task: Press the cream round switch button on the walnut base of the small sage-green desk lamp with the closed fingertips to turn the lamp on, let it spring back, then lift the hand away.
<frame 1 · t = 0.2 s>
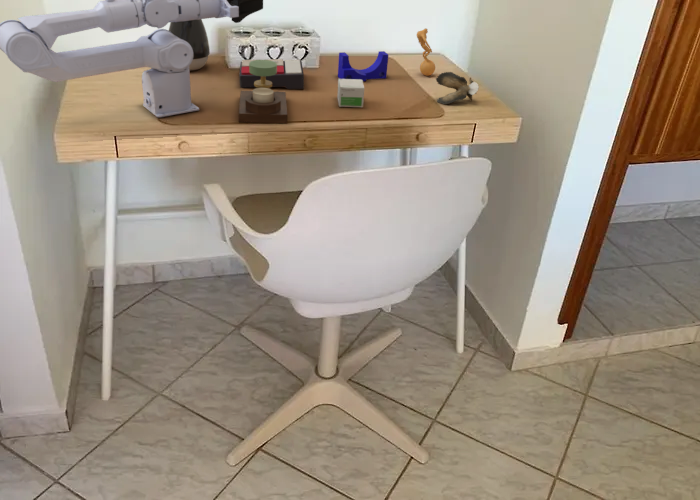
figurine: (422, 76, 175), on the table
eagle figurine: (455, 101, 160), on the table
lamp: (263, 74, 147), on the lamp base, point 6 cm above the table
lamp switch: (263, 95, 141), point 5 cm above the table, slide at 0.1 cm
lamp base: (263, 110, 146), on the table
small box: (350, 104, 154), on the table
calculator: (271, 82, 163), on the table
blue u-shaped cradle: (363, 79, 170), on the table
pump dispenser: (189, 68, 168), on the table
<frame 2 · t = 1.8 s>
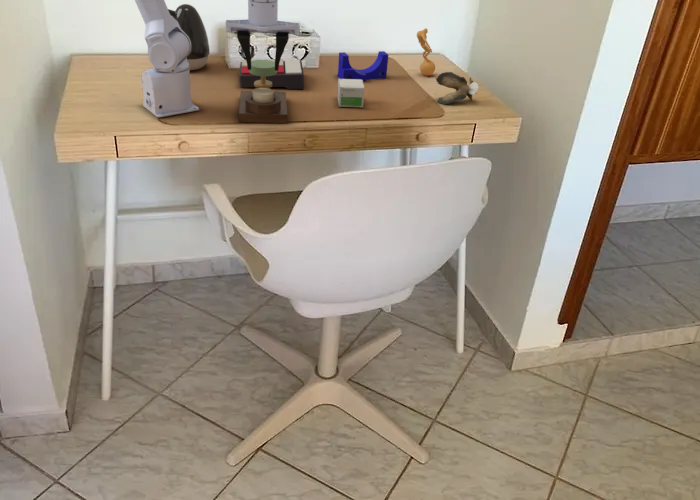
hand: (263, 68, 138), 10 cm above the table, tool pointing down, fingers open, 5 cm apart
nothing on the table moved.
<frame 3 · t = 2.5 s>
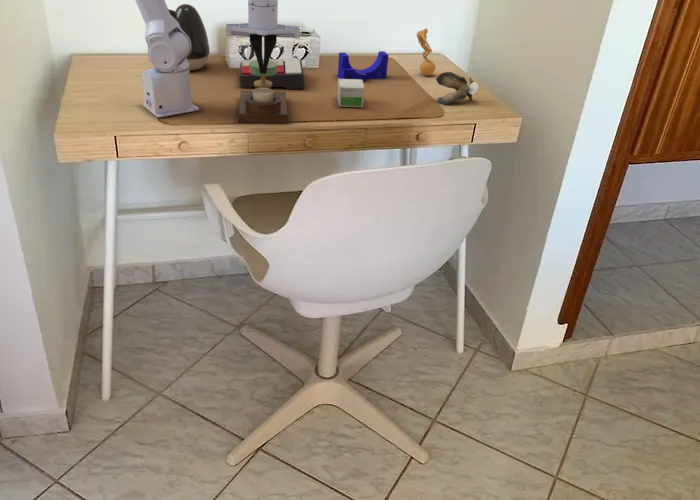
hand: (263, 72, 138), 10 cm above the table, tool pointing down, fingers closed
nothing on the table moved.
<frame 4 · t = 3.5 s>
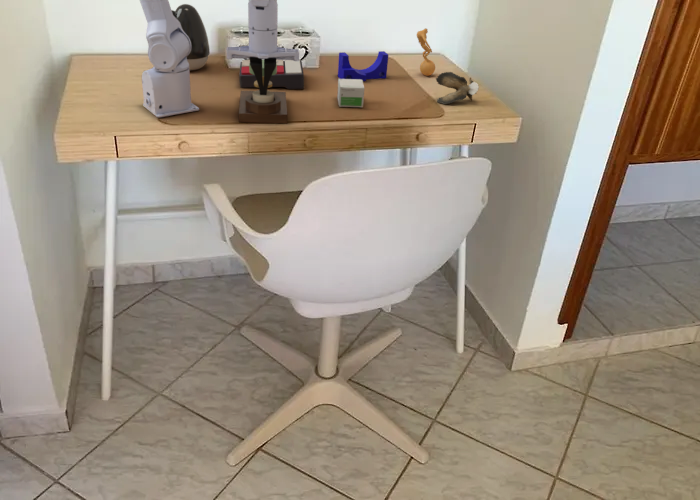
hand: (263, 93, 141), 5 cm above the table, tool pointing down, fingers closed, pressing on lamp switch
lamp switch: (263, 98, 141), point 4 cm above the table, slide at -0.4 cm, touching gripper
everything else where it was.
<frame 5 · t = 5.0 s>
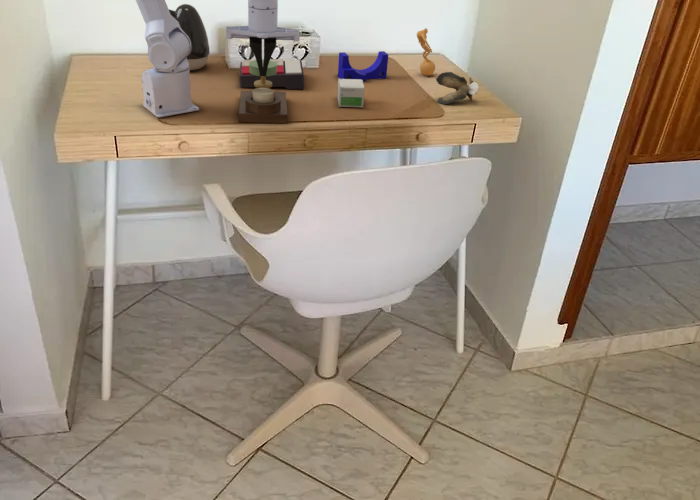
hand: (262, 74, 139), 9 cm above the table, tool pointing down, fingers closed
lamp switch: (263, 95, 141), point 5 cm above the table, slide at 0.1 cm
everything else where it was.
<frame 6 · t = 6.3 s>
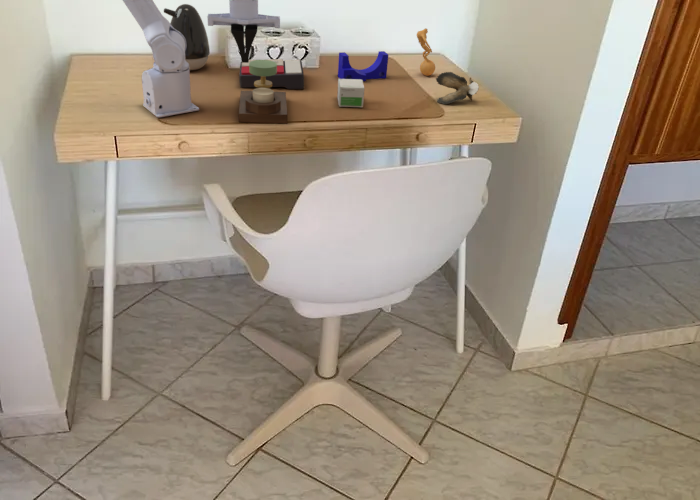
hand: (245, 61, 142), 10 cm above the table, tool pointing down, fingers closed
nothing on the table moved.
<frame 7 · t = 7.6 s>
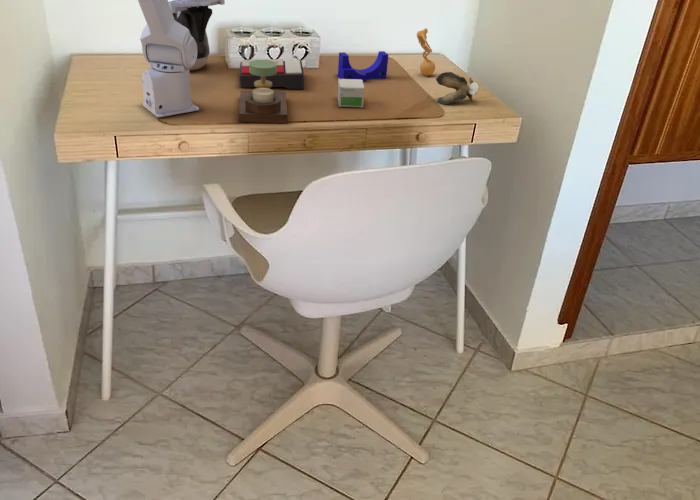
hand: (198, 41, 151), 10 cm above the table, tool pointing down, fingers closed
nothing on the table moved.
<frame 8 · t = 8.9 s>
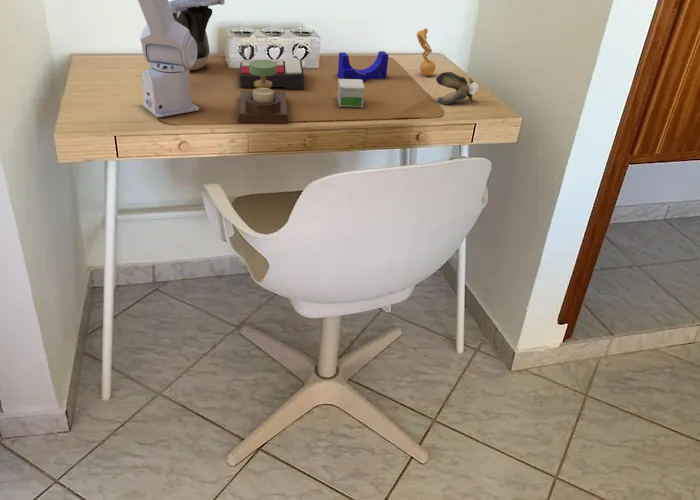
hand: (198, 41, 151), 10 cm above the table, tool pointing down, fingers closed
nothing on the table moved.
at the end: lamp switch pushed in 1.0 cm at the most during the clip, back to where it started at the end; lamp switch slide at 0.1 cm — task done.
